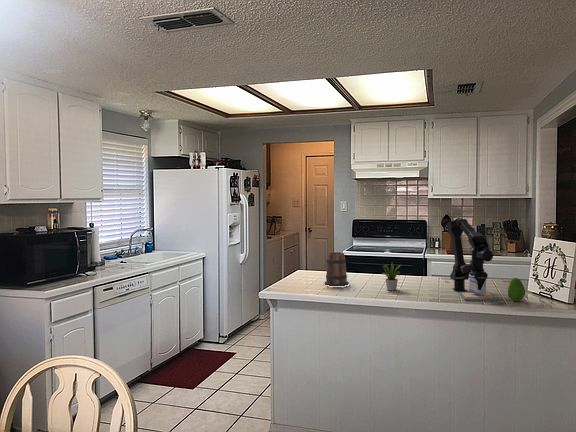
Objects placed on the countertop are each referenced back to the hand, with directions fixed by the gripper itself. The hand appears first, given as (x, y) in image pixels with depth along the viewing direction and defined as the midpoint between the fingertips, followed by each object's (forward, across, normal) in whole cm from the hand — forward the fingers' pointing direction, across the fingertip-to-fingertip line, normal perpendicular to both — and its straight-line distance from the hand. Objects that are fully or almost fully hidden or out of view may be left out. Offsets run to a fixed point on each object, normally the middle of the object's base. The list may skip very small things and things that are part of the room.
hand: (477, 288), depth 257 cm
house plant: (+5, -18, -45) cm, 49 cm away
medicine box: (+3, 0, 0) cm, 3 cm away
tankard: (+5, -35, -76) cm, 84 cm away
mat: (+5, 0, 0) cm, 5 cm away
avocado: (+5, +8, +17) cm, 20 cm away
